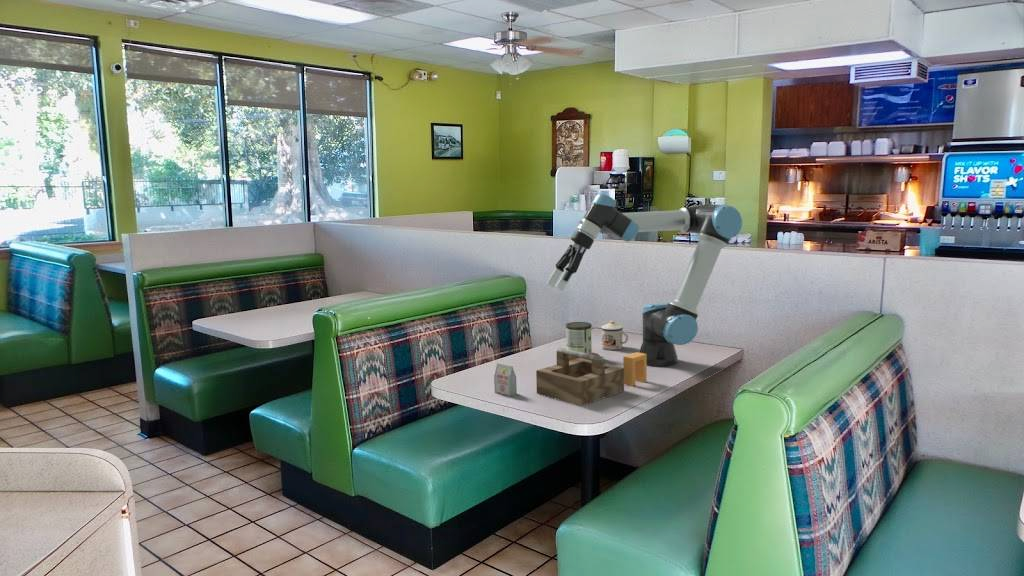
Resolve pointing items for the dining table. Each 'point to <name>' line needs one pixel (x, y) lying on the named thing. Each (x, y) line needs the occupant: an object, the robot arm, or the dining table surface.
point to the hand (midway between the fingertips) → (554, 287)
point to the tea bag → (505, 380)
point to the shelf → (579, 378)
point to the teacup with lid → (612, 336)
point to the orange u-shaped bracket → (635, 368)
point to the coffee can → (578, 336)
